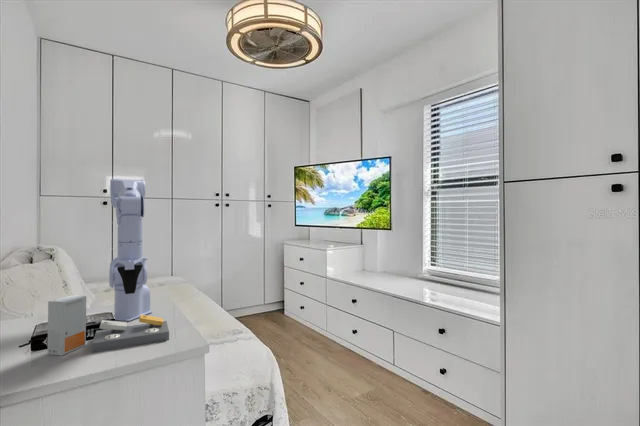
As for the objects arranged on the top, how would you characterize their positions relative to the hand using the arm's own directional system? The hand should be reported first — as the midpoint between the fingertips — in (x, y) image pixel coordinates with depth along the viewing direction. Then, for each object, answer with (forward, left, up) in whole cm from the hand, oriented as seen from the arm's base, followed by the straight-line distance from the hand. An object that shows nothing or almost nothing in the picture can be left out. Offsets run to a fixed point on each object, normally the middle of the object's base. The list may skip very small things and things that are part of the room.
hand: (130, 293), depth 87 cm
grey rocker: (+5, 0, -7) cm, 8 cm away
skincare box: (+13, -5, -11) cm, 17 cm away
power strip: (+3, +4, -10) cm, 12 cm away
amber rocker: (-1, +6, -7) cm, 9 cm away
